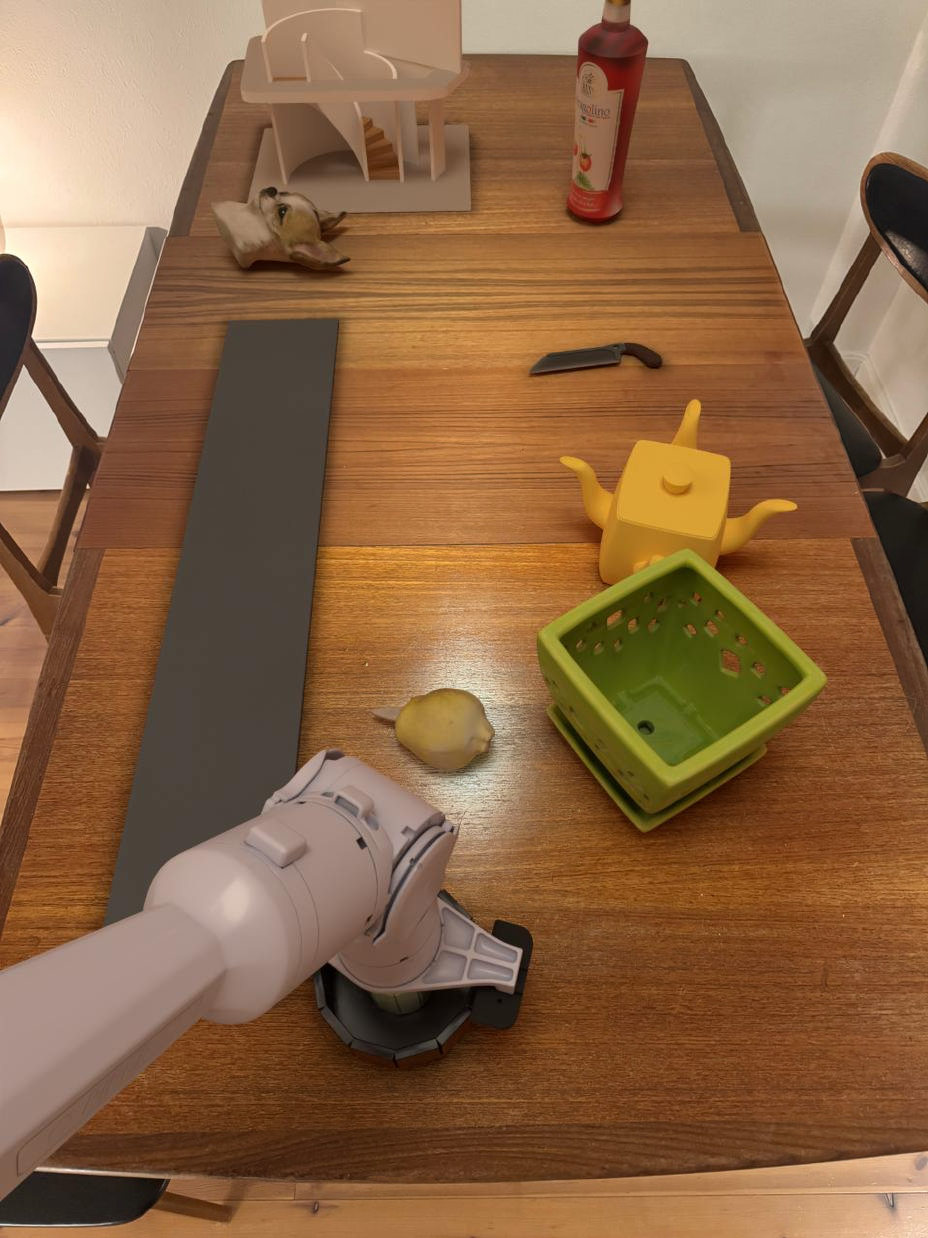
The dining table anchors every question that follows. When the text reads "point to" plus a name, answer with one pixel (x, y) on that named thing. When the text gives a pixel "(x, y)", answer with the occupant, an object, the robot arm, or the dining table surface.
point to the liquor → (605, 110)
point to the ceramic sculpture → (278, 230)
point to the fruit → (442, 727)
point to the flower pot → (671, 686)
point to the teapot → (668, 505)
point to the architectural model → (360, 104)
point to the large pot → (394, 1018)
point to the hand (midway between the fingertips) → (400, 971)
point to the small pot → (401, 1001)
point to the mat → (236, 605)
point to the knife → (595, 357)
